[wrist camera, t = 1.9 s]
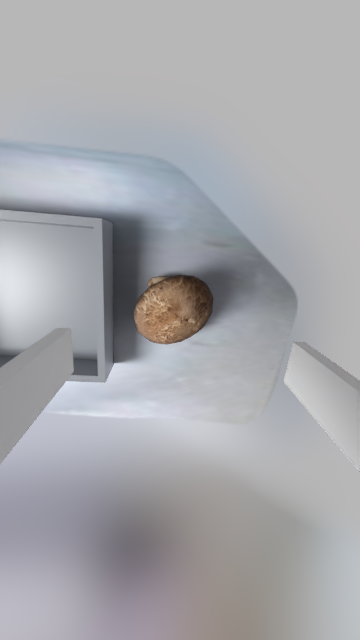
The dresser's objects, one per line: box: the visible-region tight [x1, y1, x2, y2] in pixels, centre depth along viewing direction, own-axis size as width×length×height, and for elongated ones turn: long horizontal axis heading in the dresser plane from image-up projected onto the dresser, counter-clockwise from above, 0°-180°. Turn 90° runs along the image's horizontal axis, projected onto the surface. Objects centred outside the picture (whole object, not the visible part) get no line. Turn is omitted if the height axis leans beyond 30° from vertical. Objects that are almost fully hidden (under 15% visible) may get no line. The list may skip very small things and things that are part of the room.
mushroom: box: [134, 275, 213, 344], centre depth 23 cm, size 8×8×6 cm
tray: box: [0, 210, 114, 383], centre depth 23 cm, size 15×15×4 cm
